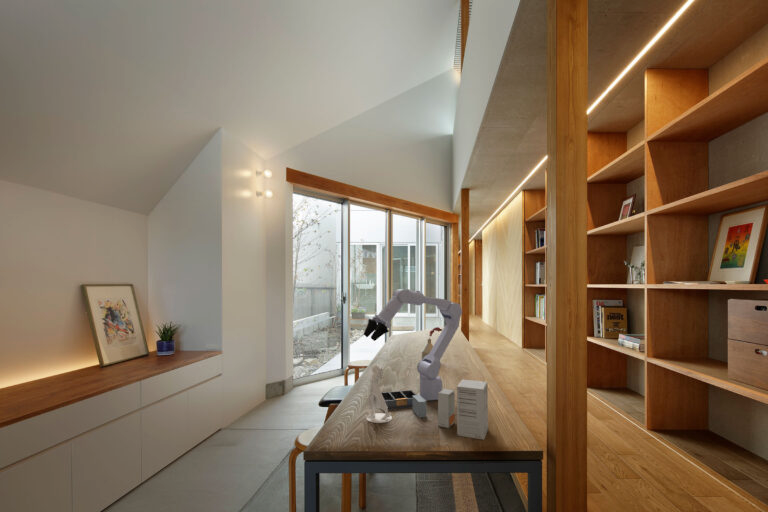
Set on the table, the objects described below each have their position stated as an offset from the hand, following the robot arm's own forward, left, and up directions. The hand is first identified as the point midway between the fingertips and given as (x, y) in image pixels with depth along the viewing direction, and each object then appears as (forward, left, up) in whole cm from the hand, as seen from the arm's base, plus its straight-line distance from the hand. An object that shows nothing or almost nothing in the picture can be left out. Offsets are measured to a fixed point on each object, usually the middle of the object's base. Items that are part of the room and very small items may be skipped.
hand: (368, 337), depth 166 cm
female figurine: (+2, +12, -29) cm, 31 cm away
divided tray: (-12, 0, -28) cm, 31 cm away
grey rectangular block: (-17, +13, -29) cm, 36 cm away
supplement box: (-29, +35, -29) cm, 54 cm away
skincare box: (-23, +26, -29) cm, 45 cm away
